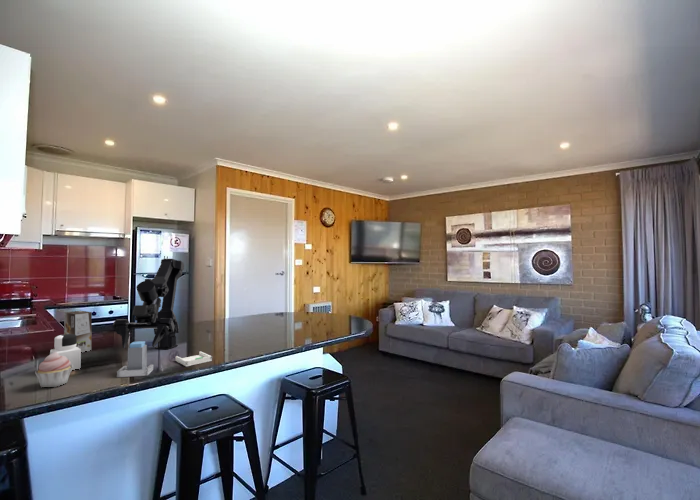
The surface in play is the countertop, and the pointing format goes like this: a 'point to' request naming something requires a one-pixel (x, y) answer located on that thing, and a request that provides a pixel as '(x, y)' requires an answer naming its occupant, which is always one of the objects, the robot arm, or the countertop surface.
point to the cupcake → (54, 370)
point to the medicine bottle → (68, 349)
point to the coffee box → (79, 328)
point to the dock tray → (194, 359)
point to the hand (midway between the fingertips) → (138, 346)
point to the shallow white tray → (134, 371)
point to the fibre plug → (137, 355)
